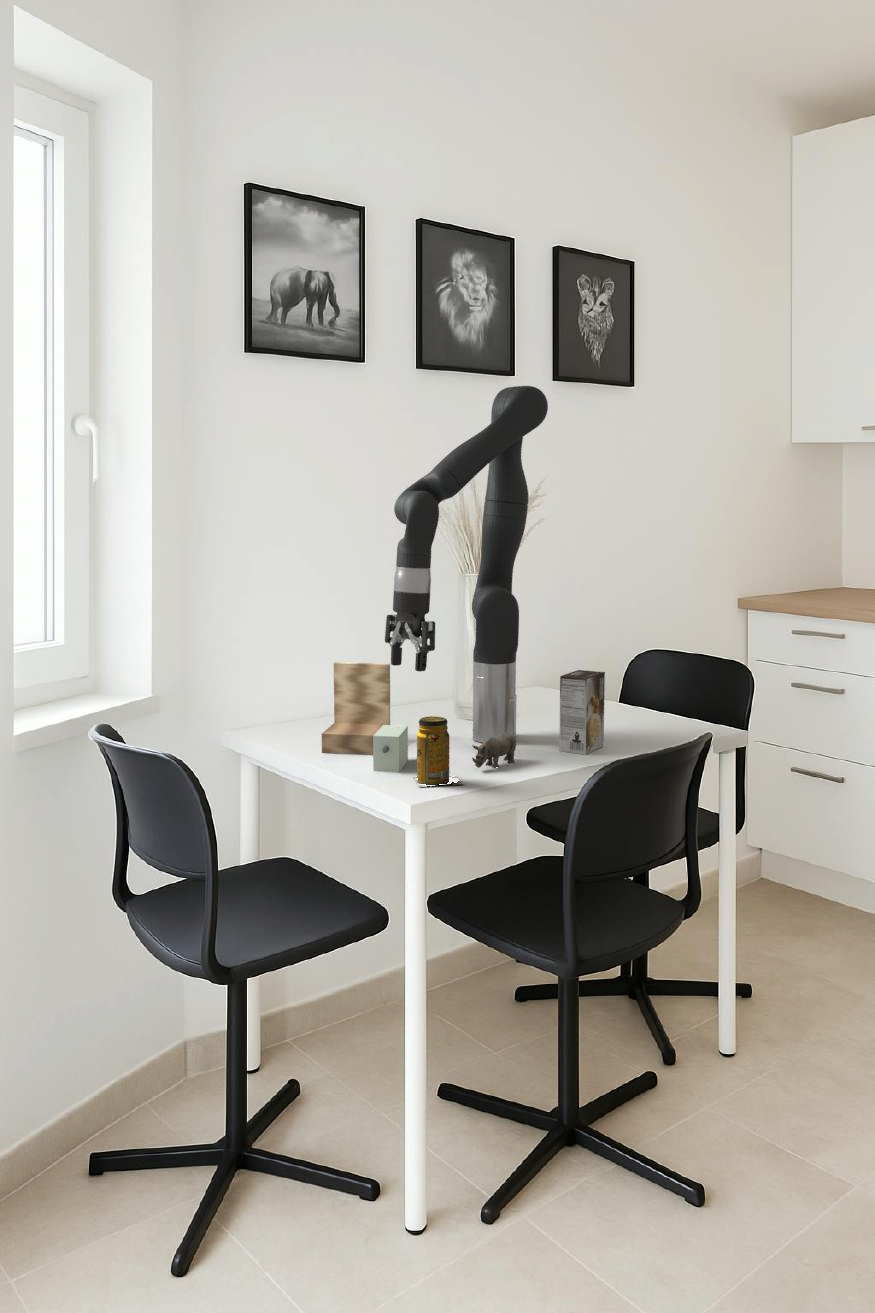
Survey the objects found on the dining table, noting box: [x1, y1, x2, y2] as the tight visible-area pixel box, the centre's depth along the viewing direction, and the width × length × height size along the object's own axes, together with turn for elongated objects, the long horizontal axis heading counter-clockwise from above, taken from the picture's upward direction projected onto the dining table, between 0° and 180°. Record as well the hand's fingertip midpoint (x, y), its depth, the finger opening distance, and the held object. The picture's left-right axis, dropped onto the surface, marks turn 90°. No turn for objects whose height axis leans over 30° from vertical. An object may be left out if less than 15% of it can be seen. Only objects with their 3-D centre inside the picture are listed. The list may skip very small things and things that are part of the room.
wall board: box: [333, 661, 391, 725], centre depth 230 cm, size 12×2×17 cm, turn 82°
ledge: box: [321, 722, 389, 756], centre depth 225 cm, size 12×11×4 cm
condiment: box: [412, 715, 465, 788], centre depth 198 cm, size 7×8×12 cm
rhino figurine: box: [472, 733, 517, 769], centre depth 210 cm, size 4×14×6 cm, turn 140°
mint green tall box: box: [372, 724, 409, 773], centre depth 210 cm, size 5×11×7 cm, turn 172°
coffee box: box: [558, 669, 606, 756], centre depth 223 cm, size 9×6×16 cm
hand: (407, 668), depth 220 cm, fingers open, 8 cm apart
